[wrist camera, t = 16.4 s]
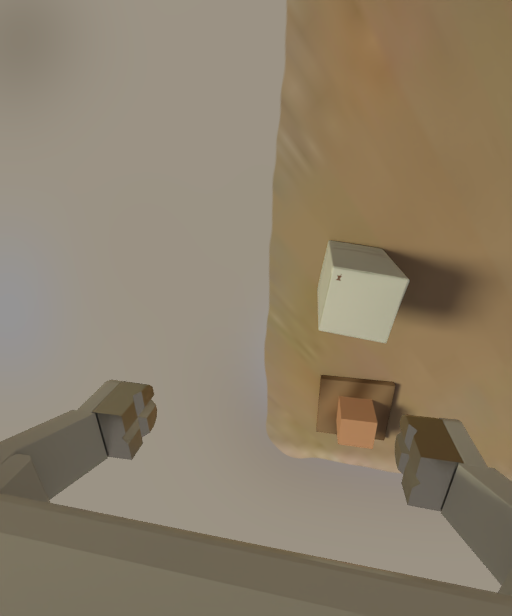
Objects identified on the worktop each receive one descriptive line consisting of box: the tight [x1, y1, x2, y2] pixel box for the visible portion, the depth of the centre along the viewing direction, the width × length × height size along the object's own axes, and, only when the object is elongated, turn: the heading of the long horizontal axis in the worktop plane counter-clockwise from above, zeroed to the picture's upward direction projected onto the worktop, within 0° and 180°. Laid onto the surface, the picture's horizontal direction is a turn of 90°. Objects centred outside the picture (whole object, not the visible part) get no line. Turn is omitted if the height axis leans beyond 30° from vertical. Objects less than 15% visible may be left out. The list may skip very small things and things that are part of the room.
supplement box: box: [318, 240, 410, 343], centre depth 36 cm, size 7×7×13 cm
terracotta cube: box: [336, 396, 377, 449], centre depth 47 cm, size 5×5×5 cm
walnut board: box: [316, 375, 395, 440], centre depth 50 cm, size 11×11×1 cm
